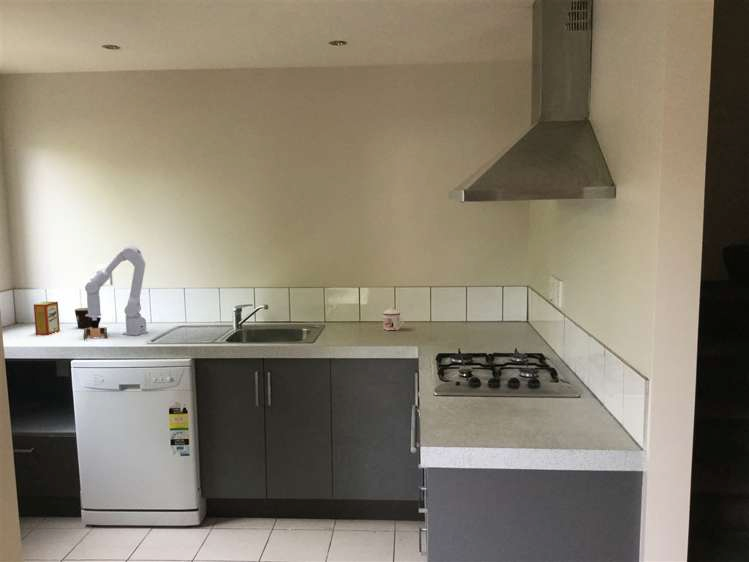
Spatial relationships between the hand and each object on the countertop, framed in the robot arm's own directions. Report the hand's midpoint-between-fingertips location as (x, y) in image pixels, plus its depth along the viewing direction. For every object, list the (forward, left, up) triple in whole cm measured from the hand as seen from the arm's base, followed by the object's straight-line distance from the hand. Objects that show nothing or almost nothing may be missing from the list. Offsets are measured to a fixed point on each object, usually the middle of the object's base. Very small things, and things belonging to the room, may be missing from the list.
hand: (95, 332), depth 302 cm
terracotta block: (-4, +3, -2) cm, 5 cm away
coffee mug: (+21, -11, -2) cm, 24 cm away
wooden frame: (-2, +2, -2) cm, 3 cm away
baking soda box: (+27, +6, -2) cm, 28 cm away
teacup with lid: (-132, -72, -2) cm, 150 cm away
